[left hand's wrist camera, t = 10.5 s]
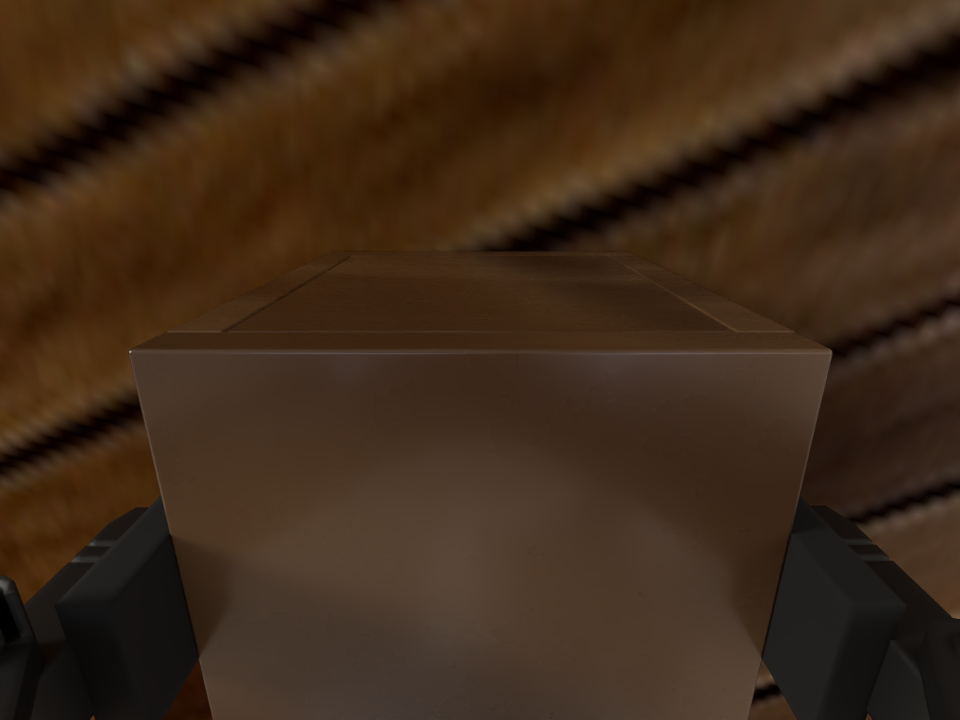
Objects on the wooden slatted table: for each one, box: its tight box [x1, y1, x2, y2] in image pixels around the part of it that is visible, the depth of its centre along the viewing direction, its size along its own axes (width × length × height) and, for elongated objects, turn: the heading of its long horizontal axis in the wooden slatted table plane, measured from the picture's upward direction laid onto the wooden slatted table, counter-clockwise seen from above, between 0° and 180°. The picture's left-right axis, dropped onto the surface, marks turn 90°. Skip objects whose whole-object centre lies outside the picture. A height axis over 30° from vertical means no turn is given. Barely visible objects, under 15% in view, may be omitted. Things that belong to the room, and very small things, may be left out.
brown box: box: [129, 252, 832, 720], centre depth 16 cm, size 18×10×11 cm, turn 0°
